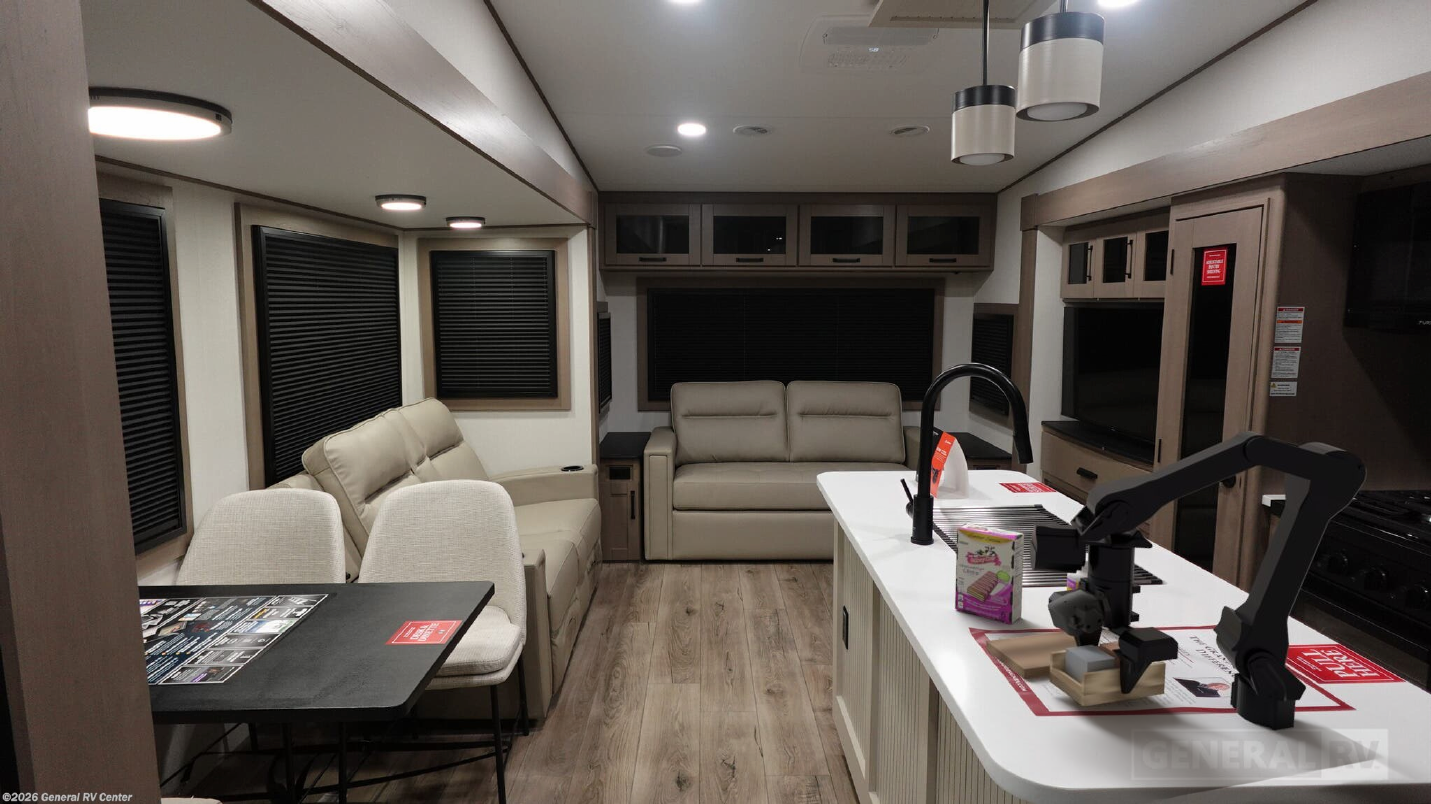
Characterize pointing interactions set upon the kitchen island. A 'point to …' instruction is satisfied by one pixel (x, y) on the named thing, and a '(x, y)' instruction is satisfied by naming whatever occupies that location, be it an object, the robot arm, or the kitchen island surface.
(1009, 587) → the candy bar box
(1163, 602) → the kitchen island surface
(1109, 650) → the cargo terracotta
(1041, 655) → the plate
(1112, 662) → the block
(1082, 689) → the wooden tray
